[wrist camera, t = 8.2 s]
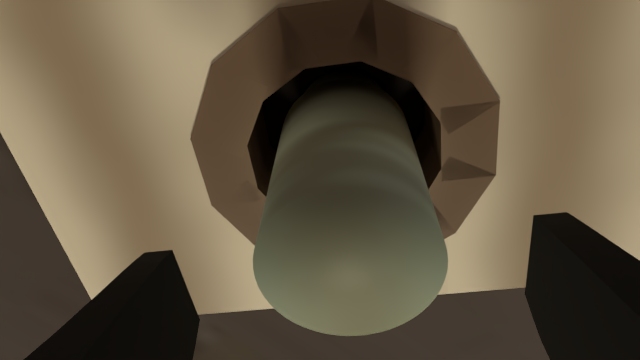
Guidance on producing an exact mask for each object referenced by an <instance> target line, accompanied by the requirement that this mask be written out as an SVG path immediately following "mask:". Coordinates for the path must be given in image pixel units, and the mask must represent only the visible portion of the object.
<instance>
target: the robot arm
mask: <svg viewBox="0 0 640 360" xmlns="http://www.w3.org/2000/svg"><path fill="white" fill-rule="evenodd" d="M525 295H526V298H527V301H528V304H529V307H530V310H531V313H532V316H533V319H534V322H535V325H536V327H537V330H538V333H539V336H540V338H541V341H542V343H543V345H544V348H545V350H546V352H547V354H548V356H549V358H550V360H640V260H638V259H637V258H635V257H634V256H632V255H631V254H629V253H628V252H626V251H625V250H623V249H622V248H620V247H619V246H617V245H616V244H614V243H613V242H611V241H610V240H608V239H607V238H605V237H604V236H602V235H601V234H600V233H598V232H597V231H595V230H594V229H592V228H591V227H589V226H588V225H586V224H585V223H583V222H582V221H580V220H579V219H577V218H575V217H574V216H572V215H571V214H569V213H567V212H563V213H552V214H542V215H533V223H532V233H531V242H530V251H529V260H528V269H527V278H526V288H525ZM199 321H200V319H199V316H198V314H197V311H196V309H195V306H194V304H193V301H192V299H191V296H190V293H189V291H188V288H187V286H186V283H185V281H184V278H183V276H182V273H181V271H180V268H179V265H178V263H177V260H176V258H175V255H174V253H173V250H166V251H155V252H145V253H143V254H142V255H141V256H140V257H138V258H137V259H136V260H135V261H134V262H132V263H131V264H130V265H129V266H128V267H127V268H126V269H125V270H123V271H122V272H121V273H120V274H119V275H118V276H117V277H116V278H115V279H114V280H113V281H111V282H110V283H109V284H108V285H107V286H106V287H105V288H104V289H103V290H102V291H101V292H100V293H98V294H97V295H96V296H95V297H94V298H93V299H92V300H91V301H90V302H89V303H88V304H87V305H85V306H84V307H83V308H82V309H81V310H80V311H79V312H78V313H77V314H76V315H74V316H73V317H72V318H71V319H70V320H69V321H68V322H67V323H66V324H65V325H64V326H62V327H61V328H60V329H59V330H58V331H57V332H56V333H54V334H53V335H52V336H51V337H50V338H49V339H47V340H46V341H45V342H44V343H43V344H42V345H40V346H39V347H38V348H37V349H36V350H35V351H33V352H32V353H31V354H30V355H29V356H28V357H26V358H25V359H24V360H192V359H193V354H194V349H195V344H196V338H197V332H198V326H199Z"/></svg>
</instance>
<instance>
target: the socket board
mask: <svg viewBox="0 0 640 360" xmlns="http://www.w3.org/2000/svg"><path fill="white" fill-rule="evenodd" d="M359 61H362V62H364V63H367V64H369V65H372V66H374V67H376V68H379V69H381V70H384V71H386V72H389V73H391V74H394V75H396V76H398V77H401V78H403V79H406V80H408V81H411V82H412V83H413V84H414V86H415V87H416V88H417V90H418V91H419V93H420V94H421V96H422V97H423V98H424V127H423V129H422V131H421V132H420V134H419V136H418V138H417V140H416V141H415V143H414V146H415V149H416V153H417V156H418V159H419V162H420V165H421V168H422V171H423V175H424V178H425V181H426V184H427V187H428V190H429V193H430V197H431V200H432V203H433V206H434V209H435V212H436V215H437V219H438V222H439V225H440V228H441V231H442V234H443V238H444V241H445V244H446V248H447V253H448V269H447V274H446V278H445V281H444V283H443V286H442V288H441V290H440V291H439V293H438V295H439V294H451V293H463V292H475V291H487V290H499V289H511V288H523V287H526V278H527V269H528V260H529V251H530V242H531V233H532V223H533V215H542V214H552V213H563V212H567V213H569V214H571V215H572V216H574V217H575V218H577V219H579V220H580V221H582V222H583V223H585V224H586V225H588V226H589V227H591V228H592V229H594V230H595V231H597V232H598V233H600V234H601V235H602V236H604V237H605V238H607V239H608V240H610V241H611V242H613V243H614V244H616V245H617V246H619V247H620V248H622V249H623V250H625V251H626V252H628V253H629V254H631V255H632V256H634V257H635V258H637V259H638V260H640V0H0V132H1V134H2V136H3V138H4V140H5V142H6V143H7V145H8V147H9V149H10V151H11V153H12V154H13V156H14V158H15V160H16V162H17V164H18V165H19V167H20V169H21V171H22V173H23V175H24V176H25V178H26V180H27V182H28V184H29V186H30V187H31V189H32V191H33V193H34V195H35V197H36V199H37V200H38V202H39V204H40V206H41V208H42V210H43V211H44V213H45V215H46V217H47V219H48V221H49V222H50V224H51V226H52V228H53V230H54V232H55V233H56V235H57V237H58V239H59V241H60V243H61V244H62V246H63V248H64V250H65V252H66V254H67V255H68V257H69V259H70V261H71V263H72V265H73V267H74V268H75V270H76V272H77V274H78V276H79V278H80V279H81V281H82V283H83V285H84V287H85V289H86V290H87V292H88V294H89V296H90V298H91V300H92V299H93V298H94V297H95V296H96V295H97V294H98V293H100V292H101V291H102V290H103V289H104V288H105V287H106V286H107V285H108V284H109V283H110V282H111V281H113V280H114V279H115V278H116V277H117V276H118V275H119V274H120V273H121V272H122V271H123V270H125V269H126V268H127V267H128V266H129V265H130V264H131V263H132V262H134V261H135V260H136V259H137V258H138V257H140V256H141V255H142V254H143V253H145V252H155V251H166V250H173V253H174V255H175V258H176V260H177V263H178V265H179V268H180V271H181V273H182V276H183V278H184V281H185V283H186V286H187V288H188V291H189V293H190V296H191V299H192V301H193V304H194V306H195V309H196V311H197V314H198V315H199V314H211V313H223V312H235V311H247V310H259V309H271V308H273V307H272V306H271V305H270V304H269V303H268V301H267V300H266V299H265V297H264V296H263V294H262V293H261V291H260V289H259V287H258V285H257V282H256V280H255V276H254V271H253V253H254V247H255V243H256V239H257V235H258V230H259V226H260V222H261V217H262V213H263V209H264V204H265V200H266V196H267V192H268V187H269V183H270V179H271V174H272V170H273V166H274V162H275V157H276V153H277V151H276V150H275V149H274V148H273V147H272V145H271V144H270V142H269V137H268V133H267V128H266V124H265V119H264V115H263V110H262V106H261V105H262V103H263V101H264V100H265V99H266V98H268V97H269V96H270V95H272V94H273V93H274V92H275V91H277V90H278V89H279V88H281V87H282V86H283V85H284V84H286V83H287V82H288V81H290V80H291V79H292V78H293V77H295V76H296V75H297V74H299V73H300V72H301V71H302V70H304V69H306V68H314V67H321V66H329V65H336V64H344V63H351V62H359Z"/></svg>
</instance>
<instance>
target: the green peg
mask: <svg viewBox="0 0 640 360" xmlns="http://www.w3.org/2000/svg"><path fill="white" fill-rule="evenodd" d="M447 269H448V253H447V248H446V244H445V241H444V238H443V234H442V231H441V228H440V225H439V222H438V219H437V215H436V212H435V209H434V206H433V203H432V200H431V197H430V193H429V190H428V187H427V184H426V181H425V178H424V175H423V171H422V168H421V165H420V162H419V159H418V156H417V153H416V149H415V146H414V143H413V140H412V137H411V134H410V131H409V127H408V124H407V121H406V118H405V116H404V113H403V111H402V110H401V108H400V106H399V105H398V103H397V102H396V101H395V100H394V99H393V98H392V97H391V96H390V95H389V94H388V93H387V92H385V91H384V90H382V89H381V88H380V86H379V85H378V84H377V83H376V82H374V81H373V80H372V79H370V78H369V77H367V76H365V75H363V74H360V73H357V72H352V71H337V72H332V73H329V74H326V75H324V76H322V77H320V78H319V79H317V80H316V81H314V82H313V83H312V84H311V85H310V86H309V87H308V88H307V90H306V91H305V93H304V94H303V95H301V96H300V97H299V98H298V99H297V100H296V101H295V103H294V104H293V105H292V106H291V108H290V109H289V111H288V113H287V115H286V117H285V120H284V123H283V127H282V131H281V136H280V140H279V144H278V149H277V153H276V157H275V162H274V166H273V170H272V174H271V179H270V183H269V187H268V192H267V196H266V200H265V204H264V209H263V213H262V217H261V222H260V226H259V230H258V235H257V239H256V243H255V247H254V253H253V271H254V276H255V280H256V282H257V285H258V287H259V289H260V291H261V293H262V294H263V296H264V297H265V299H266V300H267V301H268V303H269V304H270V305H271V306H272V307H273V308H274V309H275V310H276V311H278V312H279V313H280V314H282V315H283V316H284V317H286V318H287V319H289V320H291V321H292V322H294V323H296V324H298V325H300V326H302V327H305V328H308V329H310V330H313V331H317V332H321V333H325V334H332V335H341V336H360V335H368V334H374V333H378V332H383V331H386V330H389V329H392V328H395V327H397V326H399V325H402V324H404V323H406V322H407V321H409V320H411V319H413V318H414V317H415V316H417V315H418V314H420V313H421V312H422V311H423V310H424V309H425V308H427V307H428V306H429V305H430V304H431V302H432V301H433V300H434V299H435V298H436V296H437V295H438V293H439V291H440V290H441V288H442V286H443V283H444V281H445V278H446V274H447Z"/></svg>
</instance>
